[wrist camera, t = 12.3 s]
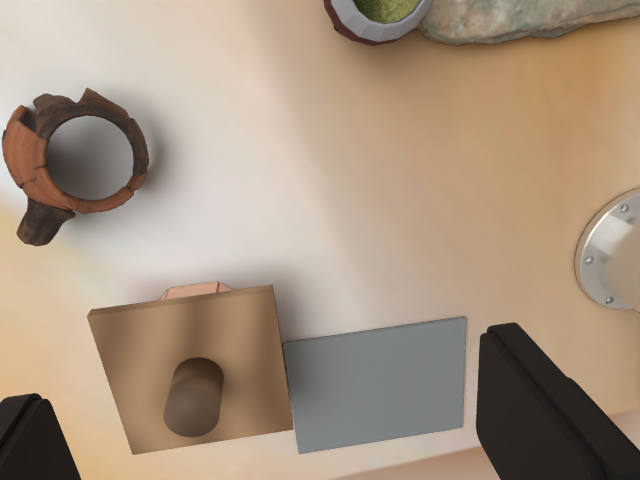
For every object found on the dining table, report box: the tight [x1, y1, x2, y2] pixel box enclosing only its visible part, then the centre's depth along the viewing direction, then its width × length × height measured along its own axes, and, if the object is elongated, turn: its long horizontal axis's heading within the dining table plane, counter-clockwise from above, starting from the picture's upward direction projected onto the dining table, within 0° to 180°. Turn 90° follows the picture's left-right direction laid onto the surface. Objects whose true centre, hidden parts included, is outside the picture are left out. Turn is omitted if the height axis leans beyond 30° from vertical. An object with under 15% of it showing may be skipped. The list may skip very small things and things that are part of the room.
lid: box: [87, 285, 293, 455], centre depth 37 cm, size 14×14×5 cm
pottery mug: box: [2, 88, 149, 246], centre depth 35 cm, size 12×10×8 cm
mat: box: [283, 316, 466, 454], centre depth 49 cm, size 18×14×1 cm
